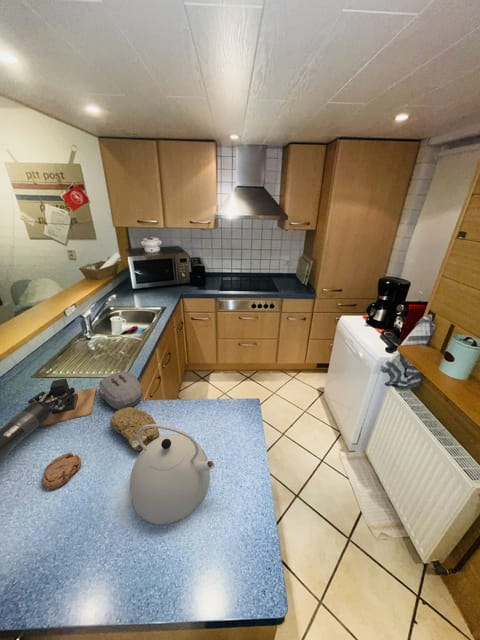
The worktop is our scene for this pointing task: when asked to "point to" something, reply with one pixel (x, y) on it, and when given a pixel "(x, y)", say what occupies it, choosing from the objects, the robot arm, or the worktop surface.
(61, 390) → the black block
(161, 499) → the kettle
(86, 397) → the base pad
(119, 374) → the grey rounded bag
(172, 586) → the worktop surface
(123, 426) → the sponge
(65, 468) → the cookie
